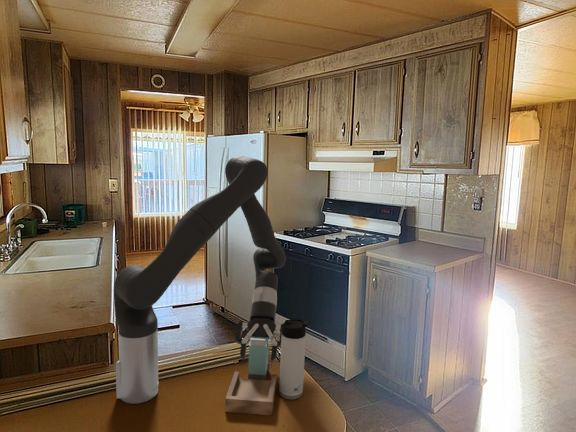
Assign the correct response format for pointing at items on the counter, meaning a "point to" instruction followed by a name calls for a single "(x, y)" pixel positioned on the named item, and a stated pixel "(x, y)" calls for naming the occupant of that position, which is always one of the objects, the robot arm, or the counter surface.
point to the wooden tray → (251, 395)
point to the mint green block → (258, 358)
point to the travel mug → (292, 358)
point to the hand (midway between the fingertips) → (257, 359)
